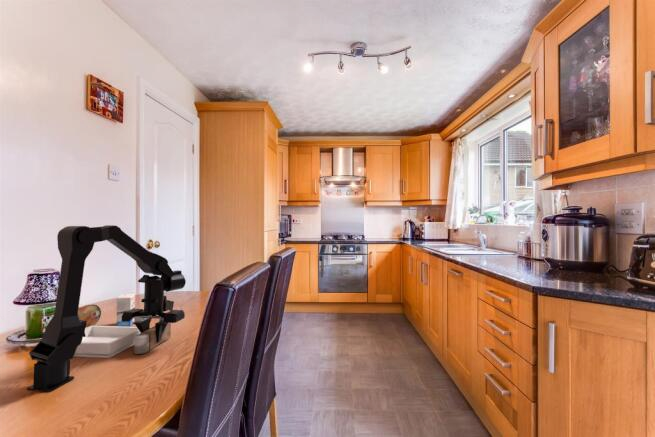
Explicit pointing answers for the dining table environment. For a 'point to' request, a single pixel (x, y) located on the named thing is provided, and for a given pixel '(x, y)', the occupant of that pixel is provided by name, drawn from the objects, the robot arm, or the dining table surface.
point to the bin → (106, 341)
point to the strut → (149, 339)
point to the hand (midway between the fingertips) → (152, 341)
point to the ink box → (125, 308)
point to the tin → (89, 314)
